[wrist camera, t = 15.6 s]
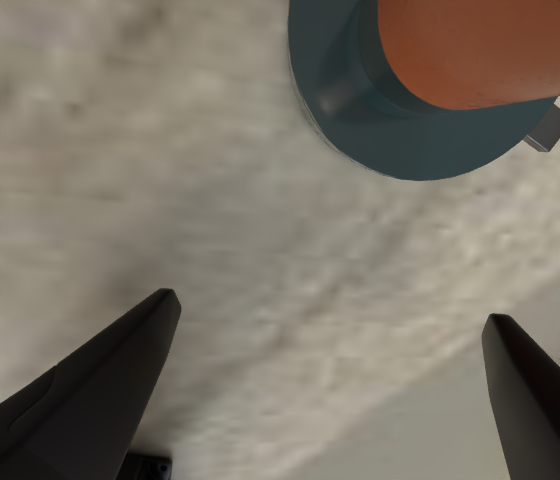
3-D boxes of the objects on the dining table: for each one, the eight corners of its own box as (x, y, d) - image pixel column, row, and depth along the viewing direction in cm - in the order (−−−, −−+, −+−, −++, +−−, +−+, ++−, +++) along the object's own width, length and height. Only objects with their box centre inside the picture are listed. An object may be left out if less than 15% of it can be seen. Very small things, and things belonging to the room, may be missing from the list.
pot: (443, 227, 22) (487, 249, 17) (208, 74, 19) (191, 55, 14) (588, 34, 19) (683, 2, 15) (339, -178, 16) (366, -296, 12)
